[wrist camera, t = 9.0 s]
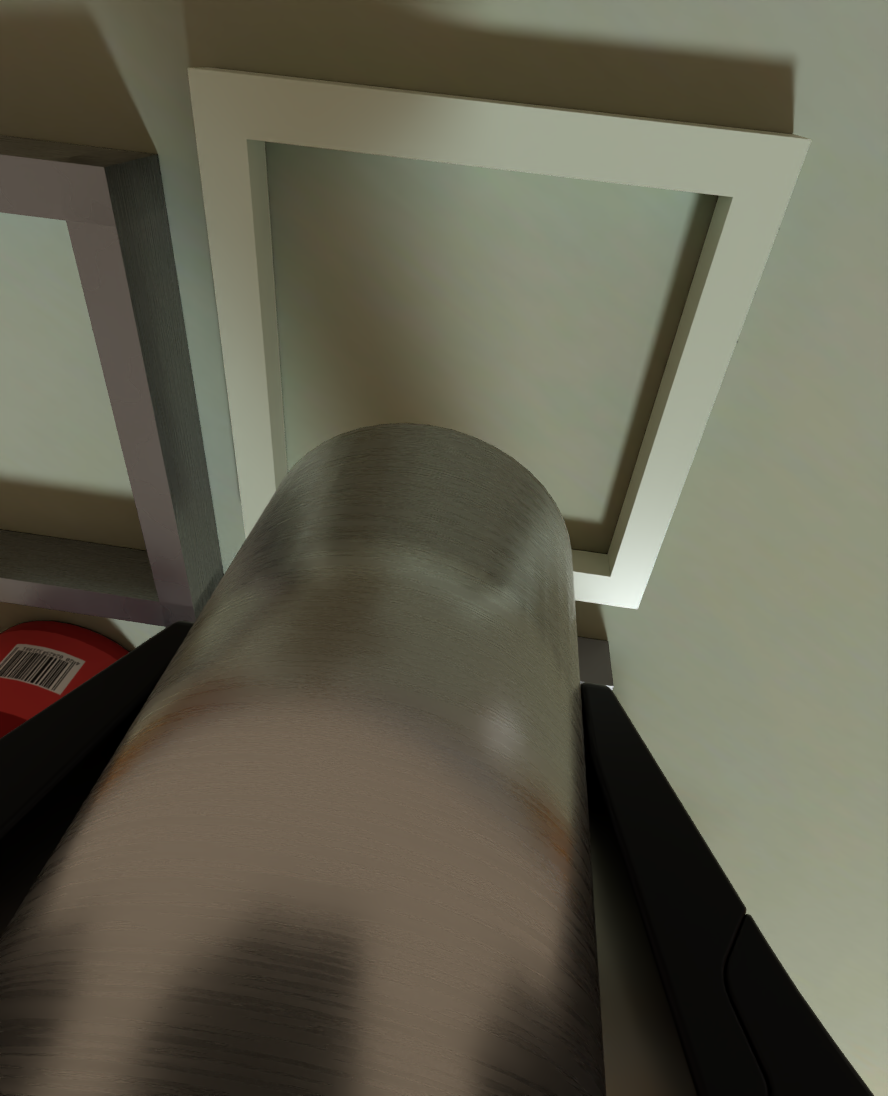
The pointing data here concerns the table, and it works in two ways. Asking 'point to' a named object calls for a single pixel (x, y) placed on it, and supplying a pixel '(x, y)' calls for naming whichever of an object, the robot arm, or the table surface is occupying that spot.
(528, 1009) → the cylinder
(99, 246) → the grey divided tray
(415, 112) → the white square frame
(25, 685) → the canned food
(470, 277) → the table surface
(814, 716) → the table surface
